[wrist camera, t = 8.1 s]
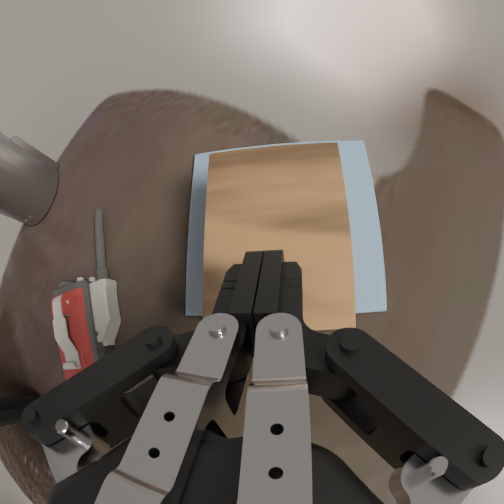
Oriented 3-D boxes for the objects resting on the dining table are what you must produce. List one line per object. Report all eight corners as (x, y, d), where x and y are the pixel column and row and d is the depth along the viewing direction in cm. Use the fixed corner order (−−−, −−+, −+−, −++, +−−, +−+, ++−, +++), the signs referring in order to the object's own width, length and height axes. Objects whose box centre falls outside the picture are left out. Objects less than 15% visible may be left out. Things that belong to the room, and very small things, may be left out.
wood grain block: (226, 326, 21) (228, 184, 23) (343, 324, 19) (332, 176, 22) (202, 329, 16) (209, 153, 18) (355, 327, 14) (337, 142, 17)
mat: (196, 155, 25) (195, 154, 25) (363, 142, 22) (363, 140, 22) (186, 315, 22) (185, 315, 22) (385, 310, 19) (386, 310, 19)
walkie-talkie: (145, 402, 21) (113, 209, 26) (117, 414, 17) (87, 194, 22) (86, 401, 22) (63, 235, 28) (59, 408, 18) (38, 225, 23)
